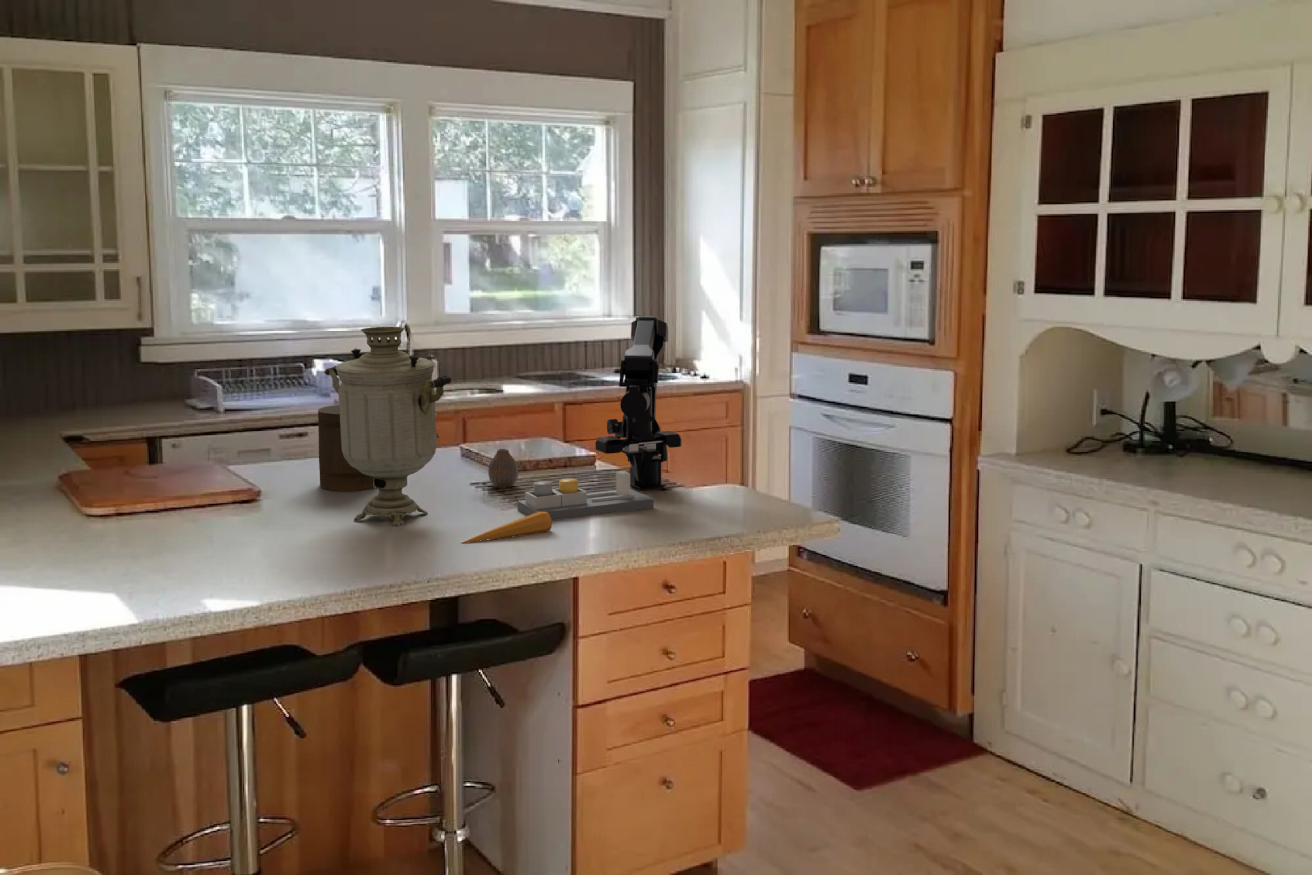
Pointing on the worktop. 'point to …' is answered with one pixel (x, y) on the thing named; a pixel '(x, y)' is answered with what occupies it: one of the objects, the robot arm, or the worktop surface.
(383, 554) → the worktop surface
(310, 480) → the worktop surface
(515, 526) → the carrot
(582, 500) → the panel
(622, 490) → the slider paddle
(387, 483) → the samovar
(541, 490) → the grey button
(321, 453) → the wooden container
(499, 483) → the vase
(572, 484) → the amber button
